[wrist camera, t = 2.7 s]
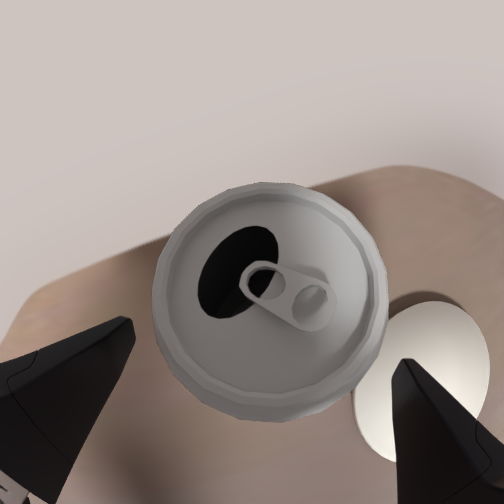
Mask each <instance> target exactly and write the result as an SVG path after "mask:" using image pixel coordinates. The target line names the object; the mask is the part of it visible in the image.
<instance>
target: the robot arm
mask: <svg viewBox="0 0 504 504" xmlns="http://www.w3.org/2000/svg"><path fill="white" fill-rule="evenodd" d="M135 340H136V336H135V332H134V327H133V322H132V320H131V319H130V318H127V317H124V316H119V317H116V318H114V319H112V320H109V321H107V322H104V323H102V324H100V325H97V326H95V327H92V328H90V329H88V330H85V331H83V332H80V333H78V334H75V335H73V336H71V337H68V338H66V339H63V340H61V341H58V342H56V343H54V344H51V345H49V346H46V347H44V348H41V349H39V351H38V350H36V351H34V352H31V353H29V354H26V355H24V356H21V357H18V358H15V359H12V360H9V361H6V362H3V363H0V504H30V501H29V497H27V496H28V494H29V492H31V493H32V494H34V495H35V496H37V497H38V498H40V499H42V500H43V501H45V502H46V503H48V504H56V502H57V499H58V497H59V495H60V493H61V490H62V488H63V486H64V484H65V482H66V480H67V477H68V475H69V473H70V471H71V469H72V467H73V465H74V463H75V461H76V459H77V456H78V454H79V452H80V450H81V448H82V446H83V445H84V443H85V441H86V439H87V437H88V435H89V433H90V431H91V429H92V427H93V425H94V423H95V421H96V420H97V418H98V416H99V414H100V412H101V410H102V408H103V407H104V405H105V403H106V401H107V399H108V397H109V396H110V394H111V392H112V390H113V389H114V387H115V385H116V383H117V381H118V380H119V378H120V376H121V373H122V371H123V369H124V367H125V364H126V362H127V360H128V357H129V355H130V353H131V351H132V348H133V346H134V344H135ZM391 390H392V422H393V432H394V442H395V453H396V467H397V492H398V504H504V444H503V443H501V442H500V441H499V440H498V439H497V438H496V437H494V436H493V435H492V434H491V433H490V432H489V431H488V430H487V429H486V428H485V427H484V426H483V425H482V424H481V423H480V422H479V421H478V420H476V418H475V417H474V416H473V415H472V414H471V413H470V412H469V411H468V410H467V409H466V408H465V407H464V406H463V405H462V404H461V403H460V402H459V401H458V400H457V399H455V398H454V397H453V396H452V395H451V394H450V393H449V392H448V391H447V390H446V389H445V388H444V387H443V386H442V385H441V384H440V383H439V382H438V381H437V380H436V379H435V378H434V377H432V376H431V375H430V374H429V373H428V372H427V371H426V370H425V369H424V368H423V367H422V366H421V365H420V364H419V363H418V362H416V361H415V360H414V359H412V358H403V359H401V360H400V362H399V364H398V366H397V368H396V370H395V371H394V373H393V375H392V379H391Z"/></svg>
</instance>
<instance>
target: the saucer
mask: <svg viewBox="0 0 504 504" xmlns="http://www.w3.org/2000/svg"><path fill="white" fill-rule="evenodd" d="M403 358H412V359H414V360H415V361H416V362H418V363H419V364H420V365H421V366H422V367H423V368H424V369H425V370H426V371H427V372H428V373H429V374H430V375H431V376H432V377H434V378H435V379H436V380H437V381H438V382H439V383H440V384H441V385H442V386H443V387H444V388H445V389H446V390H447V391H448V392H449V393H450V394H451V395H452V396H453V397H454V398H455V399H457V400H458V401H459V402H460V403H461V404H462V405H463V406H464V407H465V408H466V409H467V410H468V411H469V412H470V413H471V414H472V415H473V416H474V417H475V418H477V416H478V414H479V413H480V411H481V408H482V406H483V403H484V400H485V397H486V393H487V389H488V384H489V374H490V363H489V354H488V350H487V345H486V342H485V339H484V337H483V335H482V333H481V330H480V329H479V327H478V326H477V324H476V323H475V321H474V320H473V319H472V318H471V317H470V316H469V315H468V314H467V313H466V312H465V311H463V310H462V309H460V308H459V307H457V306H455V305H452V304H450V303H446V302H440V301H429V302H423V303H419V304H416V305H414V306H411V307H409V308H407V309H405V310H403V311H401V312H399V313H398V314H396V315H394V316H393V317H392V318H390V319H389V321H388V324H387V328H386V332H385V335H384V339H383V342H382V345H381V348H380V352H379V355H378V357H377V359H376V360H375V361H374V363H373V364H372V366H371V367H370V369H369V370H368V371H367V373H366V374H365V376H364V377H363V378H362V380H361V381H360V382H359V384H358V385H357V386H356V388H355V389H353V390H352V407H353V414H354V419H355V423H356V425H357V428H358V430H359V432H360V434H361V436H362V437H363V439H364V440H365V442H366V443H367V444H368V445H369V446H370V447H371V448H372V449H373V450H375V451H376V452H377V453H378V454H380V455H381V456H383V457H385V458H387V459H389V460H391V461H394V462H396V453H395V442H394V432H393V422H392V390H391V379H392V375H393V373H394V371H395V370H396V368H397V366H398V364H399V362H400V360H401V359H403Z"/></svg>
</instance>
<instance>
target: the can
mask: <svg viewBox="0 0 504 504" xmlns="http://www.w3.org/2000/svg"><path fill="white" fill-rule="evenodd" d="M388 308H389V302H388V284H387V271H386V268H385V266H384V263H383V260H382V258H381V255H380V253H379V250H378V248H377V246H376V243H375V241H374V238H373V237H372V236H371V235H370V233H369V232H368V231H367V230H366V229H365V227H364V226H363V225H362V224H361V222H360V221H359V220H358V219H357V218H356V216H355V215H354V214H353V213H352V212H351V211H349V210H348V209H346V208H345V207H343V206H342V205H340V204H339V203H338V202H336V201H335V200H333V199H332V198H330V197H328V196H327V195H325V194H323V193H320V192H317V191H314V190H311V189H308V188H305V187H302V186H299V185H295V184H290V183H267V182H259V183H254V184H250V185H245V186H242V187H237V188H233V189H228V190H226V191H224V192H223V193H220V194H219V195H217V196H215V197H213V198H211V199H209V200H208V201H206V202H204V203H202V204H200V205H198V207H196V208H195V209H194V210H193V211H192V212H191V213H190V214H189V215H188V216H187V217H186V218H185V219H184V220H183V221H182V222H181V223H180V224H179V225H178V226H177V227H176V228H175V229H174V231H173V233H172V234H171V236H170V238H169V240H168V242H167V243H166V245H165V247H164V249H163V251H162V253H161V254H160V256H159V258H158V262H157V267H156V272H155V277H154V282H153V287H152V313H153V320H154V328H155V334H156V341H157V344H158V346H159V348H160V350H161V352H162V354H163V356H164V358H165V360H166V362H167V364H168V365H169V367H170V369H171V371H172V373H173V375H174V376H175V377H176V378H177V379H178V380H179V381H180V382H181V383H182V384H183V385H184V386H185V387H186V388H187V389H188V390H189V391H190V392H191V393H192V394H193V395H194V396H196V397H197V398H198V399H199V400H200V401H201V402H202V403H204V404H206V405H208V406H210V407H212V408H215V409H217V410H219V411H221V412H224V413H226V414H228V415H230V416H233V417H235V418H238V419H241V420H251V421H263V422H279V423H282V422H286V421H290V420H294V419H298V418H301V417H305V416H308V415H312V414H315V413H319V412H322V411H323V410H325V409H326V408H328V407H329V406H331V405H332V404H334V403H335V402H337V401H338V400H339V399H341V398H342V397H344V396H345V395H347V394H348V393H349V392H351V391H352V390H353V389H355V388H356V386H357V385H358V384H359V382H360V381H361V380H362V378H363V377H364V376H365V374H366V373H367V371H368V370H369V369H370V367H371V366H372V364H373V363H374V361H375V360H376V359H377V357H378V355H379V352H380V348H381V345H382V342H383V339H384V335H385V332H386V328H387V324H388V321H389V313H388Z"/></svg>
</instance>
